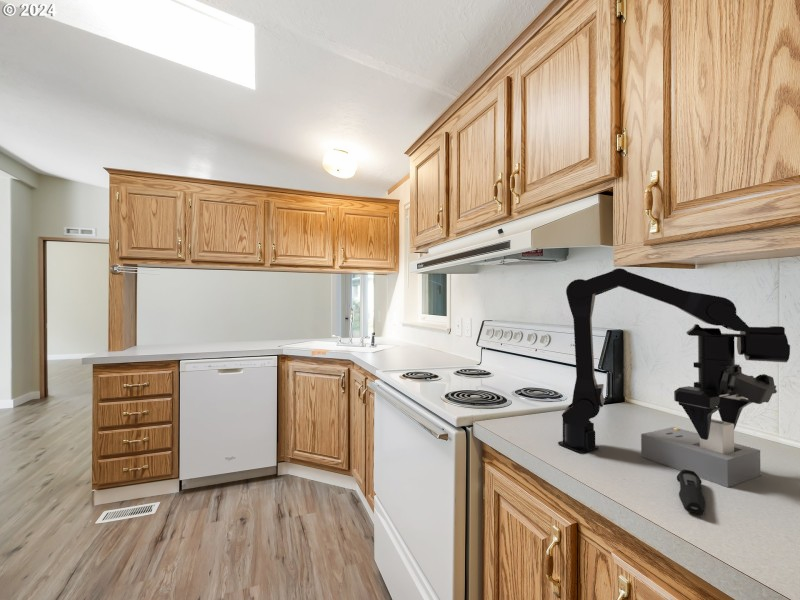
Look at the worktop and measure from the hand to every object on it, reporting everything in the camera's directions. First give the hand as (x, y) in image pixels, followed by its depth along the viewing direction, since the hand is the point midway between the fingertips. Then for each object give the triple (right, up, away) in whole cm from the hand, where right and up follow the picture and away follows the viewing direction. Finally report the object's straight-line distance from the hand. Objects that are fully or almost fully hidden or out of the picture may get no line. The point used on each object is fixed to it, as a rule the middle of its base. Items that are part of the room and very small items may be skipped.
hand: (717, 435), depth 77 cm
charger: (0, -5, 0) cm, 5 cm away
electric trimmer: (-13, -8, -10) cm, 18 cm away
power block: (-2, -7, +3) cm, 8 cm away
